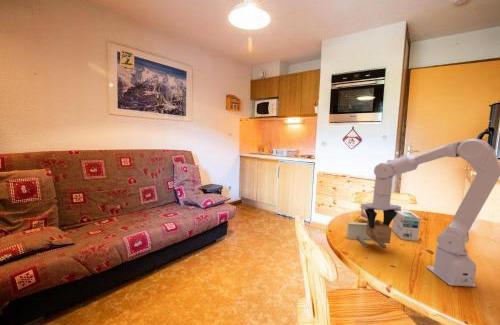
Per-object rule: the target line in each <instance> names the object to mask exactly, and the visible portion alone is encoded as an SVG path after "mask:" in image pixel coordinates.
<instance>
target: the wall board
mask: <svg viewBox="0 0 500 325" xmlns="http://www.w3.org/2000/svg"><path fill="white" fill-rule="evenodd" d="M346 224H347V228H346V238H347V240H348V239H349V240H350V239H353V240H357V241H358V242H359V243H360V244H362V245H363V247H364V248H368V247H369V244H368V243H367V242H366V241H365V240H370V241H371V240H372V241H374V240H373V239H371V238H370V237H369V236H368V235H367V234H366V227H367V222H349V221H348V222H347V223H346ZM377 244H378V245H379V246H381V247H382V248H383V249H386V248H387V244H386V243H377Z"/></svg>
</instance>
